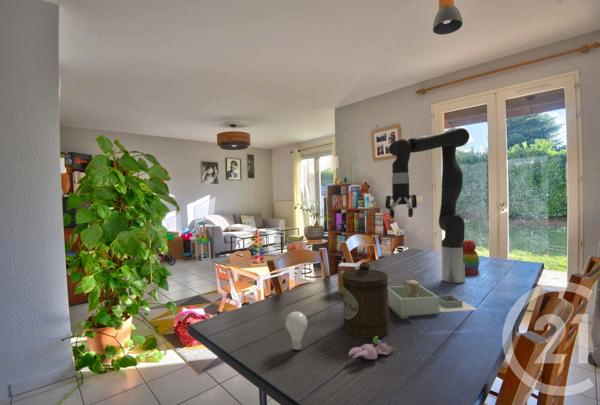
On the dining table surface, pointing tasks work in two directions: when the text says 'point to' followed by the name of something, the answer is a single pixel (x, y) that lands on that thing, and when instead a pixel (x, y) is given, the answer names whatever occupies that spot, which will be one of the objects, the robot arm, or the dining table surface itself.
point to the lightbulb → (296, 328)
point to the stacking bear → (470, 258)
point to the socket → (453, 304)
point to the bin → (412, 302)
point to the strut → (411, 289)
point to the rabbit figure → (371, 349)
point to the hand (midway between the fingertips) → (401, 217)
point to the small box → (341, 269)
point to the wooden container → (365, 302)
